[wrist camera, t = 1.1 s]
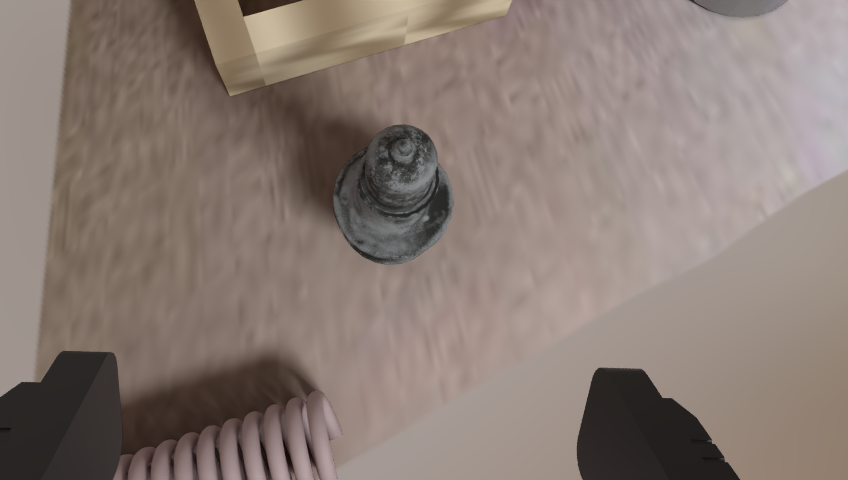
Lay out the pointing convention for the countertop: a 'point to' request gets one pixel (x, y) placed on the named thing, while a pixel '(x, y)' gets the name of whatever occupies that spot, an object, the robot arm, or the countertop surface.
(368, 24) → the jig
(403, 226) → the grey tall knobbed piece
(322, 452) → the coil
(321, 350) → the countertop surface
